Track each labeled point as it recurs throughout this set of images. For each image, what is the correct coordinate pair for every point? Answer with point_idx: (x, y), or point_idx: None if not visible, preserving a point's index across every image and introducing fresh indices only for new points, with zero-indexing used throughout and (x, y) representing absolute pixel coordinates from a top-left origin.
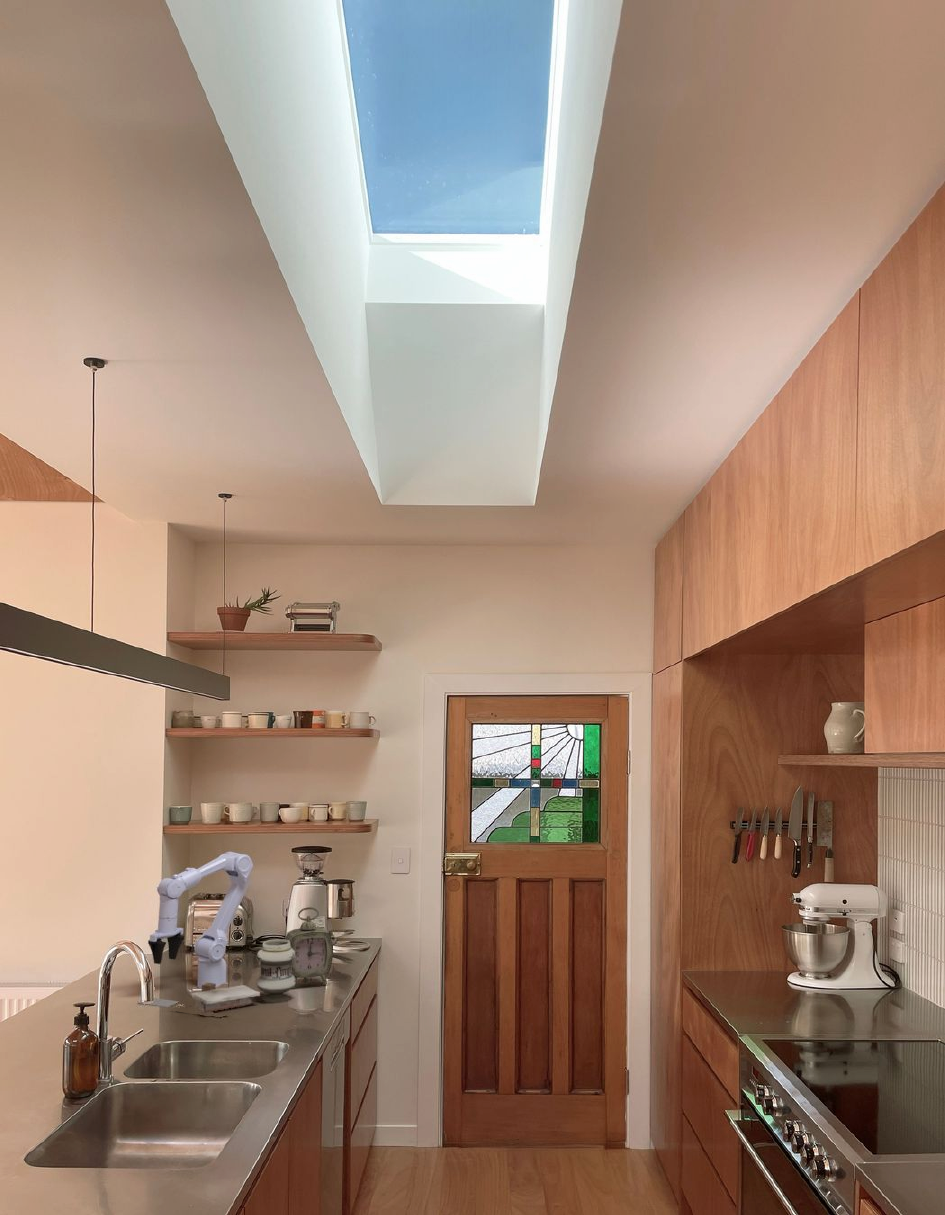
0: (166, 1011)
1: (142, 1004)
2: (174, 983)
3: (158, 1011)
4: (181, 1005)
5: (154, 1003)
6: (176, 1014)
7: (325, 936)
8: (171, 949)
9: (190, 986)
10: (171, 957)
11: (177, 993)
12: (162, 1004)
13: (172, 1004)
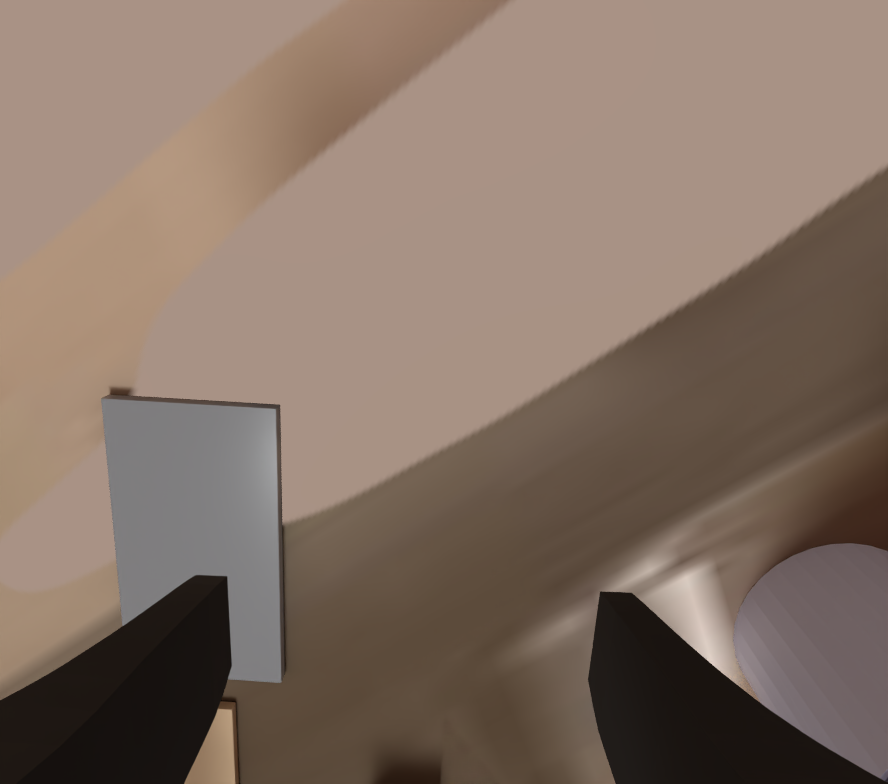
0: None
1: (110, 447)
2: (829, 315)
3: (49, 642)
4: (210, 737)
5: (151, 540)
6: None
7: None
8: (653, 738)
9: (761, 509)
10: (602, 646)
11: (522, 522)
12: None
13: None
